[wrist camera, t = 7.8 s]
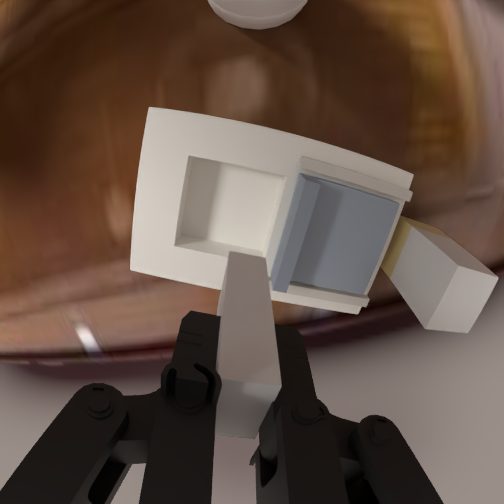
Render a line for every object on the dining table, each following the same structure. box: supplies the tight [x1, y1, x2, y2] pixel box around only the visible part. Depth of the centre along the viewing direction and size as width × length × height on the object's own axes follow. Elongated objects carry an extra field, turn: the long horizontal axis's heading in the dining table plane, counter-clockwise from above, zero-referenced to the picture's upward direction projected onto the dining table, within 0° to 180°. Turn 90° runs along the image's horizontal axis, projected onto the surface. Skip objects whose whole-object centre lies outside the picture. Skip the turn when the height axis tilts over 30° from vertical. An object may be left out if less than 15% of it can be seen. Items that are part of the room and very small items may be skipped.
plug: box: [380, 215, 498, 333], centre depth 22 cm, size 5×5×10 cm
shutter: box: [271, 173, 400, 294], centre depth 21 cm, size 8×8×3 cm
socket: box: [130, 107, 414, 314], centre depth 23 cm, size 20×13×4 cm, turn 77°
